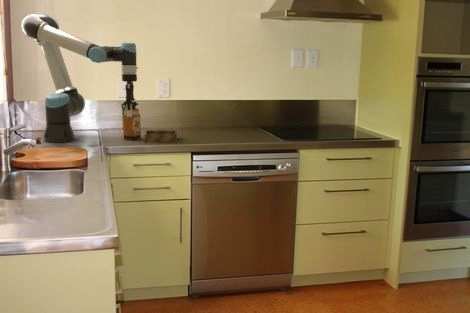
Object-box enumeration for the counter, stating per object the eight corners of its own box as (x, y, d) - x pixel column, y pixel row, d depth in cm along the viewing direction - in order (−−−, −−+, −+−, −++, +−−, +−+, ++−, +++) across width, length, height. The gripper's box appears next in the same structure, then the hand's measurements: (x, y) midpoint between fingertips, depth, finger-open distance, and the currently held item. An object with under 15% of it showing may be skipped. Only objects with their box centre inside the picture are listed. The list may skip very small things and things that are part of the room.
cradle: (145, 142, 277) (145, 134, 276) (146, 137, 291) (146, 130, 290) (176, 142, 279) (176, 134, 278) (176, 137, 293) (176, 130, 292)
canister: (131, 141, 280) (130, 102, 276) (117, 138, 287) (116, 100, 282) (144, 138, 287) (143, 101, 283) (130, 136, 294) (129, 99, 289)
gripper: (135, 75, 268) (136, 118, 273) (138, 72, 292) (139, 111, 297) (119, 75, 267) (120, 118, 272) (124, 71, 291) (125, 111, 296)
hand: (130, 114), depth 284 cm, fingers open, 13 cm apart
